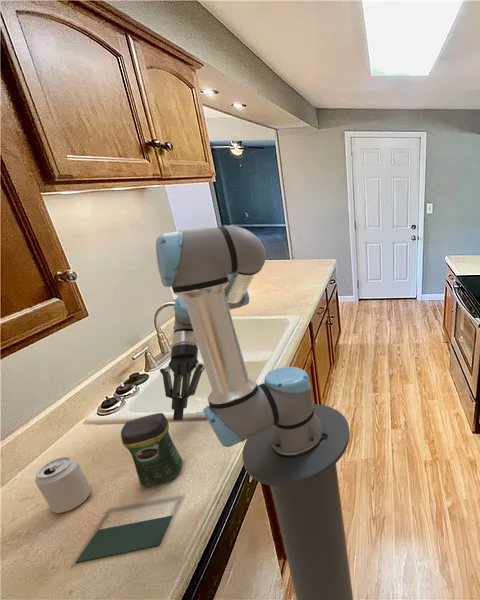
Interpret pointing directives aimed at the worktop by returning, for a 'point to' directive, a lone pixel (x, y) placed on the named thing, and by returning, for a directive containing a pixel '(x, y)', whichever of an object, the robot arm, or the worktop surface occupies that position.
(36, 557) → the worktop surface
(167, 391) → the robot arm
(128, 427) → the coffee jar
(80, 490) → the can
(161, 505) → the worktop surface
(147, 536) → the mat
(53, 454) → the worktop surface
